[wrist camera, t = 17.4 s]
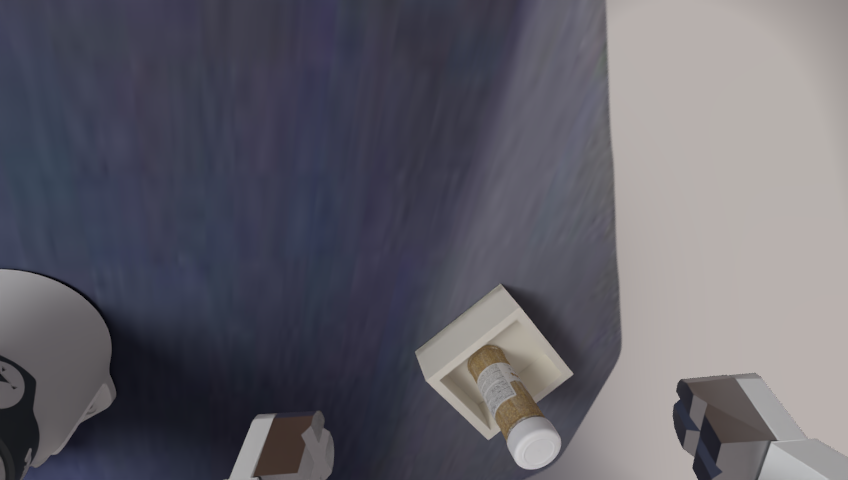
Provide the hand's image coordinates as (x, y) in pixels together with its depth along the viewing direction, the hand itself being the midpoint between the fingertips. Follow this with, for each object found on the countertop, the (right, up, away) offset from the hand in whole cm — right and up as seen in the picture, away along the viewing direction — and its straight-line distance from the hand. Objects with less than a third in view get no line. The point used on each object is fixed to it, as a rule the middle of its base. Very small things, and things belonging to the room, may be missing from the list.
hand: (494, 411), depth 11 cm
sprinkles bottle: (+5, -10, +43) cm, 44 cm away
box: (+5, -9, +43) cm, 45 cm away
